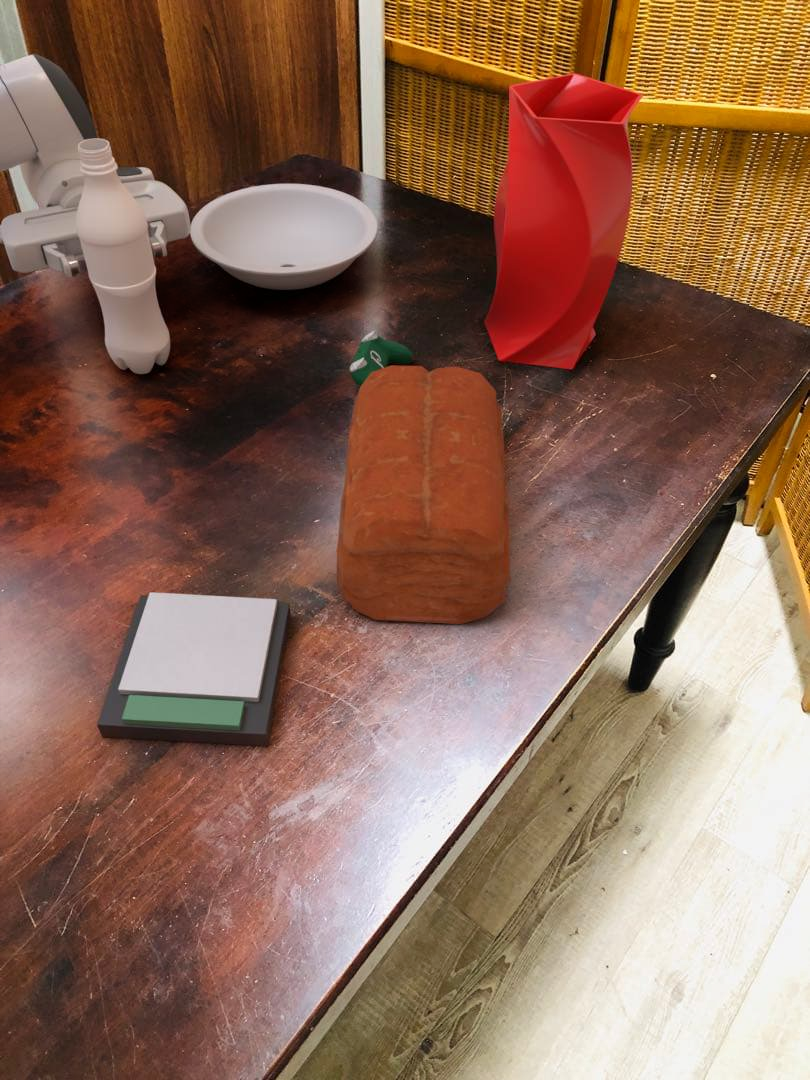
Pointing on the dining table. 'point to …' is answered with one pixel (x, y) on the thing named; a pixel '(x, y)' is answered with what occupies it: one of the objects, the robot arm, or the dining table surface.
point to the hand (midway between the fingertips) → (117, 260)
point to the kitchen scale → (198, 670)
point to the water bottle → (120, 262)
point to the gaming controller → (377, 356)
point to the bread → (424, 498)
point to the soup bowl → (284, 234)
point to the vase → (559, 216)
